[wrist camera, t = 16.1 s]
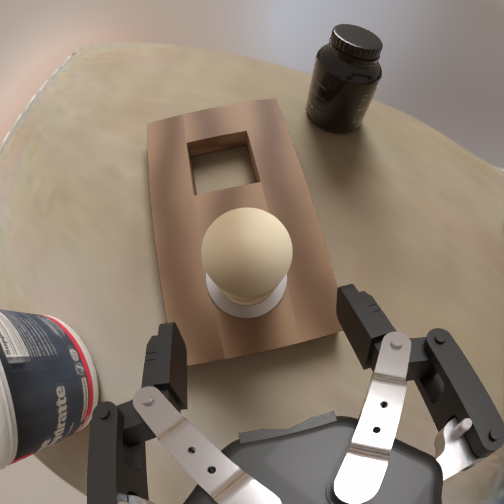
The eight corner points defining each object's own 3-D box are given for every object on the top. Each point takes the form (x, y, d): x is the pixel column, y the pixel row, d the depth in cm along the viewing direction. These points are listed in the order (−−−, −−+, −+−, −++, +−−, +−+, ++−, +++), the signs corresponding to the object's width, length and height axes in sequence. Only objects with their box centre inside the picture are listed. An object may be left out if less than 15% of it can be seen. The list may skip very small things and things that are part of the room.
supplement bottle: (348, 94, 31) (374, 22, 19) (368, 134, 29) (407, 61, 18) (297, 95, 31) (312, 16, 19) (314, 137, 29) (340, 54, 17)
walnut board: (274, 112, 30) (275, 97, 27) (338, 329, 24) (347, 329, 21) (153, 137, 29) (146, 122, 26) (183, 363, 23) (176, 367, 21)
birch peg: (268, 245, 23) (279, 199, 14) (281, 298, 22) (302, 284, 13) (214, 257, 23) (194, 218, 14) (226, 311, 22) (211, 305, 13)
